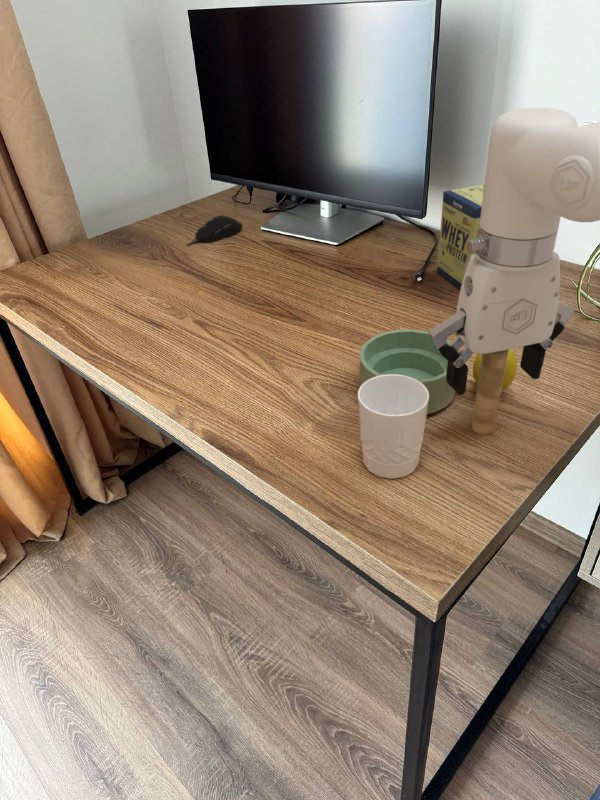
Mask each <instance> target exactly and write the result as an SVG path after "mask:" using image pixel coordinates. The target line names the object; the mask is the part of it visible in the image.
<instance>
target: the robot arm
mask: <svg viewBox="0 0 600 800" xmlns="http://www.w3.org/2000/svg"><path fill="white" fill-rule="evenodd" d="M486 160H487V161H486V162H487V163H486V170H485V175H484V176H485V177H484V183H483V184H484V192H483V201H482V209H481V217H480V226H479V228H478V231H477V238H474V240H469V241H468V242H467V245H466V247H467V251H468V253H469V254H471V253H476V254H474V255H472V256H471V257H470V260H469V263H468V265H467V268H466V271H465V275H464V278H463V282H462V285H461V290H460V289H459V294H458V298H457V299H458V300H457V305H456V312H455V313H454V314H452V315H451V316H449V317H447V318H446V319H445V320H443V321H442V322H440V323H439V324H437V325H435V326H434V327H433V328H431V329H429V331H428V332H429V336H430V338H431V340H432V342H433V344H434V345H435V348H436V349H437V350H438V351H439V352H440V354H441V355H442V356H443V357H445V358H446V359H447V360H448V364H447V374H446V381H447V383H448V384H449V386H451V387H452V388H453V389H454V390H455V391H456V393H455V394H457V396H463V395H465V393H466V390H467V389H466V388H467V383H468V376H469V375H468V374H469V367H468V365H467V364H466V363H467V361H468V360H469V359H470V358H471V357H472V356H473V355H474V354H475V355H477V354H487V353H492V352H498V351H503V350H508V349H512V350H513V349H518V348H522V353H521V358H520V364H519V366H520V368H521V370H523V371H524V372H525V373H526V374H527V375H528V376H529V377H530V378H531V379H533V380H539V379H540V377H541V373H542V368H543V365H544V360H545V357H546V351H547V350H550V349H551V348H552V347H553V344H554V341H555V339H557V337H558V336H559V335H561V334H562V333H563V331H564V330H565V325H567V323H568V322H569V321H570V319H571V318H572V317H573V315H574V313H575V308H574V307H572V305H570V304H569V303H568V302H564V301H562V300H559V298H560V297H559V296H560V289H561V288H560V287H561V264H560V263H561V261H560V255H559V253H558V252H555V246H556V241H557V238H558V237H557V236H558V232H559V228H560V222H561V218H563V219H566V220H569V221H571V222H576V223H593V222H598V221H600V121H598V122H594V123H590V124H586V125H582V126H579V125H578V121H577V119H576V117H574V115H572V114H571V113H569V112H567V111H564V110H561V109H557V108H550V107H549V108H548V107H526V108H518V109H517V108H516V109H513V110H509V111H507V112H505V113H502V114H501V115H500V116H499V117H497V119H496V120H495V122H494V123H493V125H492V127H491V131H490V137H489V144H488V153H487V159H486ZM452 334H455V337H454V338H453V340H452V341H450V342H451V343H450V344H449V345H448V344H447V341H446V340H448V338H449V337H450V336H452ZM463 346H464V347H463ZM462 347H463V348H462ZM461 348H462V349H461ZM460 349H461V350H460ZM457 351H458V352H459V353H458V352H457Z"/></svg>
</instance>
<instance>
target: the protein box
mask: <svg viewBox="0 0 600 800" xmlns="http://www.w3.org/2000/svg"><path fill="white" fill-rule="evenodd" d="M484 184H485V183H482V184H477V185H473V186H467V187H462V188H456V189H449V190H444V191H443V192H442V193H443V194H442V207H441V219H440V230H439V231H440V232H439V246H438V258H437V269H436V271H437V272H436V274H437V273H438V274H439V275H440V276H441V277H442V278H444V279H445V280H447V281H448V282H449V283H451V284H452V285H453V286H454V287H456V288H457V289H458V290H459V291H460V290H461V285H462V282H463V278H464V275H465V271H466V268H467V265H468V263H469V260H470V257H471V256H472V255H474V254H476V253H471V254H469V253H468V251H467V247H466V245H467V242H468V241H469V240H474V238H477V231H478V228H479V226H480V217H481V209H482V201H483V192H484Z"/></svg>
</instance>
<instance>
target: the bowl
mask: <svg viewBox="0 0 600 800" xmlns="http://www.w3.org/2000/svg"><path fill="white" fill-rule="evenodd" d="M446 341H447V344H448V345H449V344H450V343H451V342H452V341H450V340H449V339H447V340H446ZM457 352H458V353H460V351H459V350H458V351H457ZM447 364H448V360H447V359H446V358H445V357H443V356H442V355H441V354H440V352H439V351H438V350H437V349H436V348H435V345H434V344H433V342H432V340H431V338H430V336H429V331H425V330H419V329H395V330H389V331H384V332H382V333H380V334H376V335H374V336H372V337H370V339H368V340H367V341H366V342H364V343H363V345H362V347H361V348H360V350H359V387H360V386H361V385H362V384H363V383H364V382H366V381H367V380H369V379H371V378H373V377H376V376H380V375H386V374H398V375H404V376H408V377H411V378H414V379H416V380H418V381H419V382H421V383H422V384H423V385H424V386H425V387H426V388H427V390H428V392H429V402H428V409H427V415H429V414H434V413H437V412H439V411H440V410H443V409H444V408H447V406H448V405H450V403H452V402H453V400H454V399H455V395H456V394H457V393H456V391H455V390H454V389H453V388H452V387H451V386H449V384H448V383H447V381H446V374H447Z"/></svg>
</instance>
